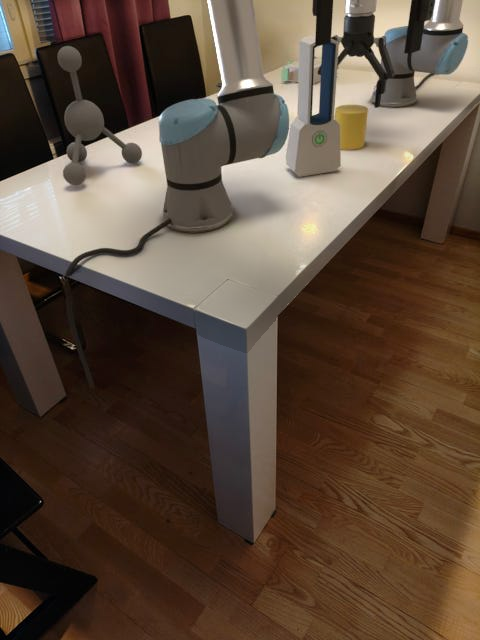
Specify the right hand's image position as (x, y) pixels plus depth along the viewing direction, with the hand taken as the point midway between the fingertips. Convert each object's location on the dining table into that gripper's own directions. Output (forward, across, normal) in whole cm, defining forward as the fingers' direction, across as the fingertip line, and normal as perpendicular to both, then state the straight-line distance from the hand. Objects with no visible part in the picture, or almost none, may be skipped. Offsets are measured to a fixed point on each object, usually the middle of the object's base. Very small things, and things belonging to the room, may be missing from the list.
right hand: (352, 104), depth 134 cm
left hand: (-26, +21, -66) cm, 74 cm away
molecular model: (+10, -55, -43) cm, 71 cm away
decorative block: (+12, -43, +74) cm, 87 cm away
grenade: (+11, -48, +14) cm, 51 cm away
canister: (+11, 0, -1) cm, 11 cm away
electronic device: (+10, -2, -22) cm, 25 cm away
